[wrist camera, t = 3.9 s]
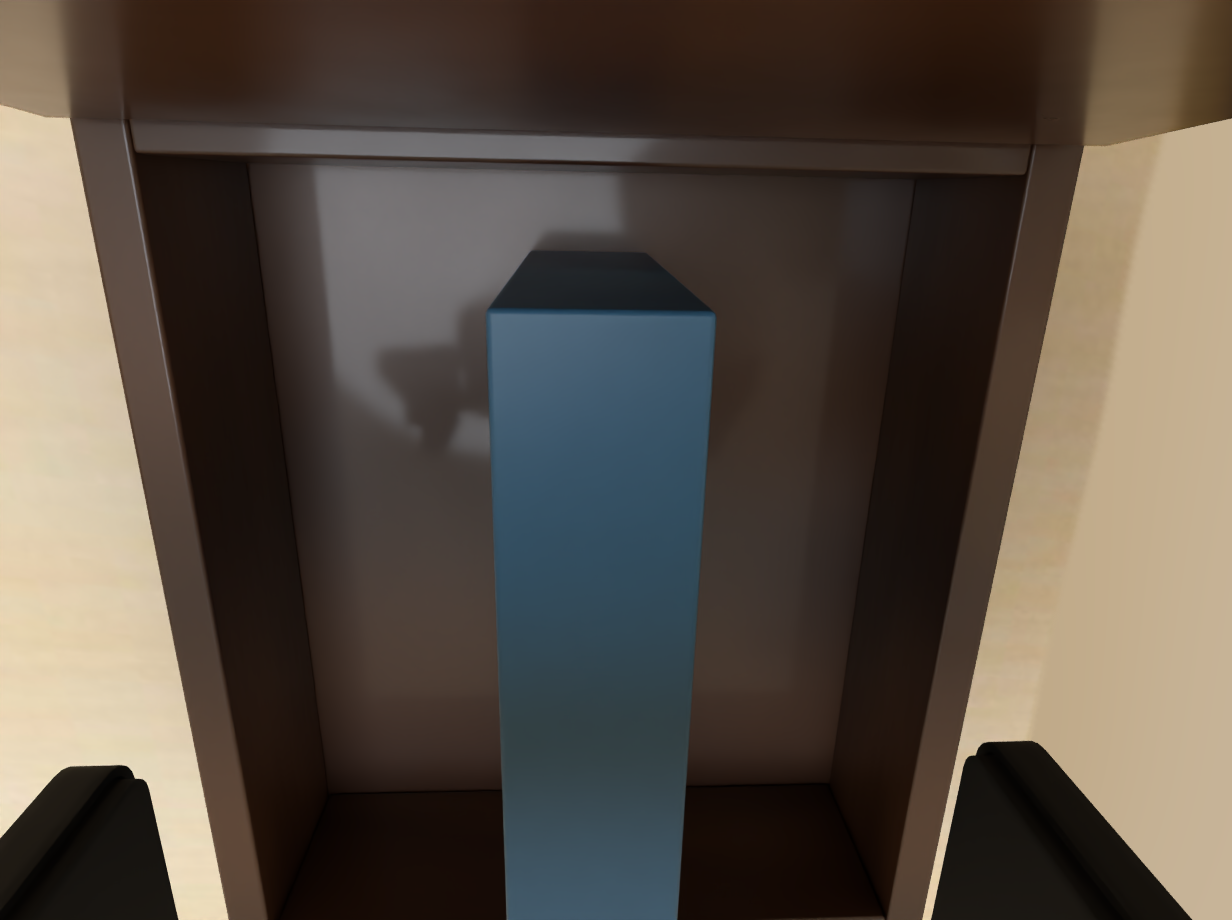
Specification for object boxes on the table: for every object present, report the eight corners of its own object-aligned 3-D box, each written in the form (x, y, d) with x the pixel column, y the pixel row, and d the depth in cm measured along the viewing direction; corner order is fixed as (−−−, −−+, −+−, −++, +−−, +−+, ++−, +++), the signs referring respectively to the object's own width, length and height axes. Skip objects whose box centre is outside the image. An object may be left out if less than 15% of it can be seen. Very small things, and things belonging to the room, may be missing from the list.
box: (845, 784, 21) (918, 944, 17) (311, 794, 20) (236, 966, 16) (942, 140, 16) (1090, 119, 11) (216, 119, 15) (61, 89, 10)
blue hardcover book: (631, 739, 19) (667, 1088, 12) (536, 740, 19) (512, 1094, 12) (648, 252, 15) (718, 310, 8) (528, 250, 15) (484, 307, 8)
